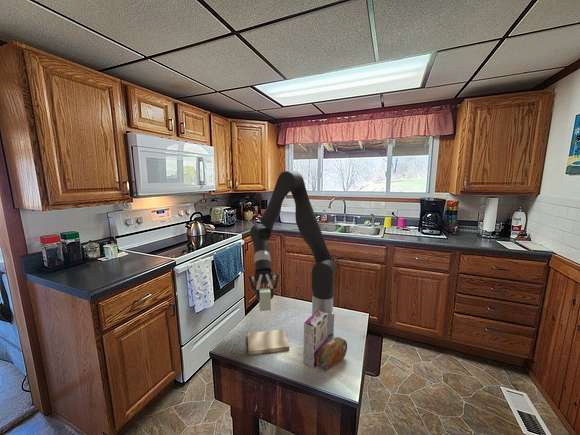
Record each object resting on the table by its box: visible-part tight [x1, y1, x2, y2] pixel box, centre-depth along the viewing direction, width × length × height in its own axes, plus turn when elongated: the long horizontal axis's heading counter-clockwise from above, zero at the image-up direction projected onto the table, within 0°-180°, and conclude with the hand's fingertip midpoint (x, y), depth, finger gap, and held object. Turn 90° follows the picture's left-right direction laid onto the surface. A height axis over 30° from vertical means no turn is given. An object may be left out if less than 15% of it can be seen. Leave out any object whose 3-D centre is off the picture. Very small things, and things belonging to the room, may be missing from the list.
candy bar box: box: [303, 310, 329, 369], centre depth 93 cm, size 11×5×16 cm, turn 147°
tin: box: [316, 337, 348, 372], centre depth 91 cm, size 15×3×8 cm, turn 130°
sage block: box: [258, 287, 272, 312], centre depth 104 cm, size 4×4×8 cm
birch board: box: [247, 329, 290, 356], centre depth 102 cm, size 16×12×2 cm
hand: (265, 299), depth 103 cm, fingers closed on sage block, 4 cm apart
